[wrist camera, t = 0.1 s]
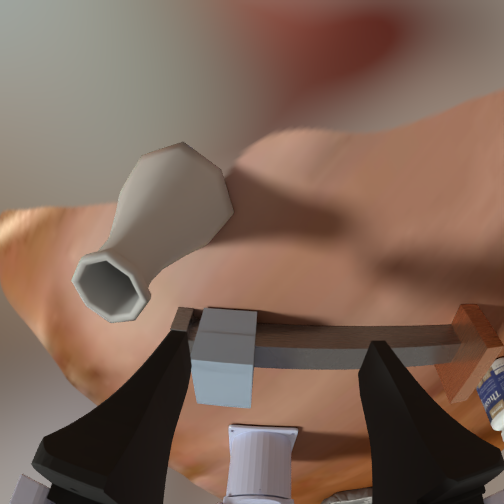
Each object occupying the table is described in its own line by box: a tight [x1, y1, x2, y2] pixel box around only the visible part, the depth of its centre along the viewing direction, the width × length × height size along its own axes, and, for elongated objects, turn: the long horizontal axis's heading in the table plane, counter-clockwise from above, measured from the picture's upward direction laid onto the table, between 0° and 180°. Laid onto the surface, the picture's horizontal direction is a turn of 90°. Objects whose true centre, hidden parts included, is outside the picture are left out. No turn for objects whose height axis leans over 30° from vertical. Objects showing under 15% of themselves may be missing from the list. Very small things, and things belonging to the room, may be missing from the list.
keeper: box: [190, 308, 257, 408], centre depth 22 cm, size 5×4×5 cm
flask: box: [71, 142, 234, 323], centre depth 15 cm, size 7×7×10 cm
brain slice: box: [321, 487, 372, 504], centre depth 48 cm, size 20×17×3 cm
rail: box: [170, 304, 504, 403], centre depth 22 cm, size 7×26×6 cm, turn 88°
